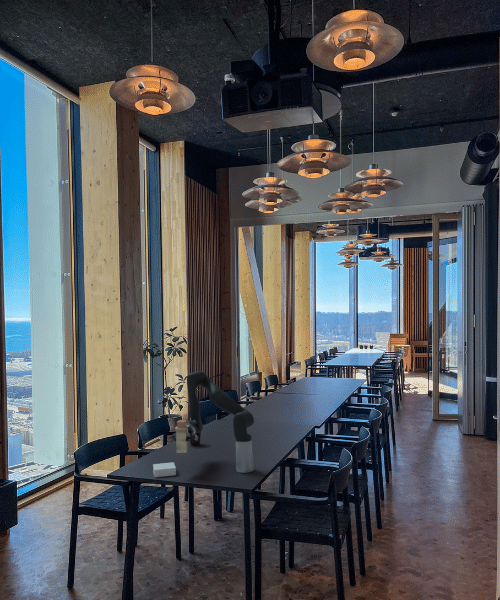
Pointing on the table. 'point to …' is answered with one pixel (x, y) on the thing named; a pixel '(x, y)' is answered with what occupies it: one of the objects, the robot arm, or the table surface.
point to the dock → (164, 469)
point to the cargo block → (181, 424)
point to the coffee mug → (196, 440)
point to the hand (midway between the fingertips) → (181, 439)
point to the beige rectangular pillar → (181, 439)
